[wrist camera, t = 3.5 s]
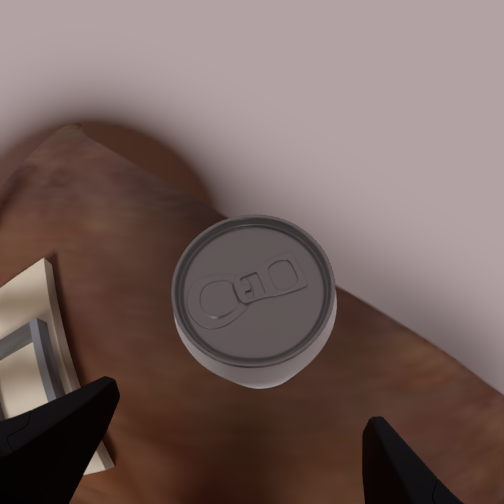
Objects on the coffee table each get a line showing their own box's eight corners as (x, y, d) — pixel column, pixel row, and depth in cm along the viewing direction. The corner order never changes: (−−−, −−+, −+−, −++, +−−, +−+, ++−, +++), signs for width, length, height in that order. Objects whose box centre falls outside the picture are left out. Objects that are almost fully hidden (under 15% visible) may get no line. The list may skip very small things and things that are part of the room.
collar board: (114, 466, 16) (95, 472, 13) (10, 485, 13) (-9, 487, 10) (51, 264, 24) (35, 250, 22) (-29, 321, 21) (-46, 313, 19)
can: (204, 320, 21) (143, 239, 11) (284, 290, 22) (297, 185, 12) (234, 401, 18) (191, 409, 8) (319, 367, 19) (380, 330, 9)
